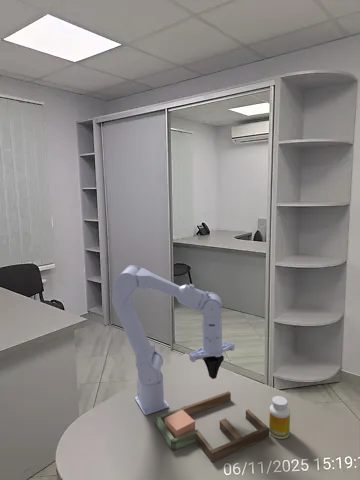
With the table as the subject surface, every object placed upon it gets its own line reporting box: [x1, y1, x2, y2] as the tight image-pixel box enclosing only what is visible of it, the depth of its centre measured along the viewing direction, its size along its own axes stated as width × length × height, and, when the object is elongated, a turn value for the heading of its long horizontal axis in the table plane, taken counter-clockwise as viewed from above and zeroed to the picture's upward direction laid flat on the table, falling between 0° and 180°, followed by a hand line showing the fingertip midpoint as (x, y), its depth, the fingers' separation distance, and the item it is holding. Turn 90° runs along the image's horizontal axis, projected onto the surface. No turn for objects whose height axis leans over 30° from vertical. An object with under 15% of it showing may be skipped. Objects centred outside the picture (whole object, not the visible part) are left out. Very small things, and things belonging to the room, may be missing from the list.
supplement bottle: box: [268, 395, 291, 440], centre depth 95 cm, size 5×5×10 cm
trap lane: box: [155, 391, 270, 463], centre depth 97 cm, size 19×25×2 cm
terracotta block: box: [165, 410, 196, 438], centre depth 96 cm, size 6×6×4 cm
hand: (212, 377), depth 105 cm, fingers closed
